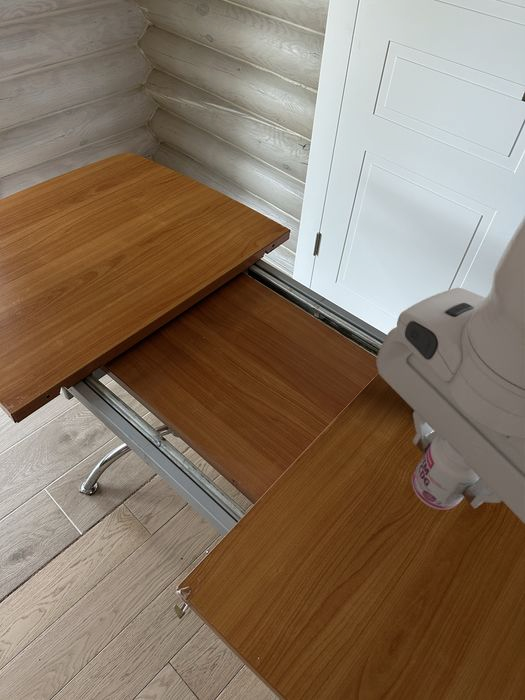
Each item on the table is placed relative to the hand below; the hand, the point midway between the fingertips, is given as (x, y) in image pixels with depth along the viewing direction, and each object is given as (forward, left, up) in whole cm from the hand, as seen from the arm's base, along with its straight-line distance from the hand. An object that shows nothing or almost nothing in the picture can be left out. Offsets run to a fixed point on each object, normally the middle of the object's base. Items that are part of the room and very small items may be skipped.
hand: (447, 470), depth 46 cm
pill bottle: (0, 0, -3) cm, 3 cm away
